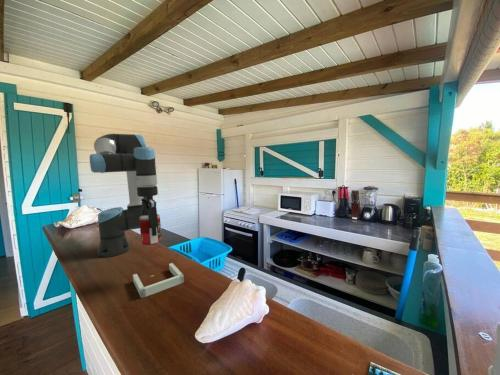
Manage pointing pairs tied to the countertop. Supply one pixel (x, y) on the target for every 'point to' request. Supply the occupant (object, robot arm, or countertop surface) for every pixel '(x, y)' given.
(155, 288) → the bay
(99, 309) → the countertop surface
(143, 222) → the canned food
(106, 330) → the countertop surface
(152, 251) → the countertop surface
